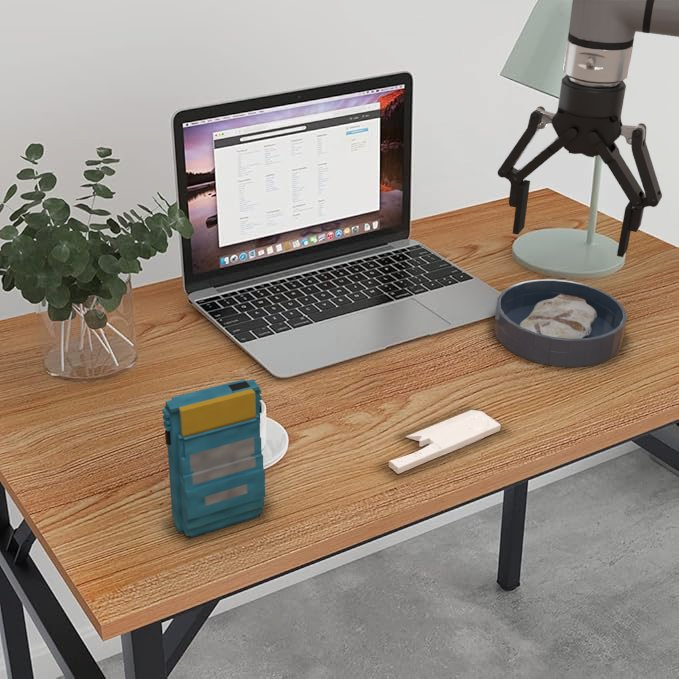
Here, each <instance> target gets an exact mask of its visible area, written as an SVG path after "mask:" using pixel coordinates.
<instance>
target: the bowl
mask: <svg viewBox="0 0 679 679" xmlns="http://www.w3.org/2000/svg"><path fill="white" fill-rule="evenodd" d="M560 294H562V295H569V296H574V297H578V298H581V299H584V300H586V303H587V304H588V305H590V306H591V307H593V308H594V309H595V311H596V313H597V317H596V318H595V319H594V321H593V323H592V325H591V332H590V334H589V335H588V336H587V337H584V338H580V339H567V338H558V337H551V336H547V335H543V334H538V333H535V332H532V331H530V330H527V329H525V328H522V327H521V326H520V323H521V322H522V321H523V320H525V319H526V318H527V317H528V316H529V315H530V314H531V313H532V312H533V311H532V310H533V309H534V307H535V305H536V304H537V303H538V302H541V301H543V300H547V299H552V298H555V297H557V296H558V295H560ZM627 319H628V317H627V310H626V309H625V307H624V306H623V304H622V302H620V301H619V300H618V299H616V298H615V297H614V296H613V295H611V294H609V293H607V292H605V291H603V290H602V289H599V288H597V287H594V286H591V285H589V284H585V283H582V282H577V281H572V280H564V279H554V278H548V279H546V278H544V279H543V278H542V279H541V278H540V279H531V280H524V281H522V282H518V283H515V284H512V285H510V286H508V287H506V288H505V289H504V290H502V291H501V292H500V294H499V295H498V296H497V298H496V307H495V317H494V323H493V324H494V325H493V330H494V331H493V332H494V336H495V337H496V340H498V342H499V343H500V344H501V345H502V346H503V347H504V348H505V349H507V350H508V351H509V352H511V353H513V354H515V355H516V356H518V357H520V358H523V359H524V360H527V361H531V362H534V363H536V364H540V365H546V366H552V367H560V368H583V367H591V366H595V365H599V364H602V363H605V362H607V361H609V360H611V359H612V358H614V357H615V356H616V355H617V354H618V353H619V352H620V350H621V348H622V345H623V343H624V338H625V332H626V327H627V322H628V320H627Z"/></svg>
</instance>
